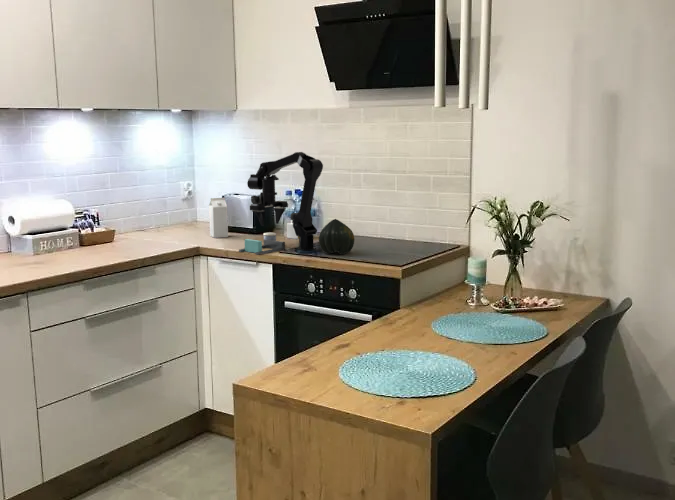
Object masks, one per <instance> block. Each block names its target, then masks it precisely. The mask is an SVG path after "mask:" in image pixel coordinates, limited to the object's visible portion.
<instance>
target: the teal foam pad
mask: <svg viewBox="0 0 675 500" xmlns="http://www.w3.org/2000/svg"><path fill="white" fill-rule="evenodd" d="M262 245H263V241H262V240H257V239H251V238H245V239H244V249H245V251H244V252H249V253H255V254H256V252H259V251H263V248H262Z"/></svg>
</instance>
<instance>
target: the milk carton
mask: <svg viewBox="0 0 675 500" xmlns="http://www.w3.org/2000/svg"><path fill="white" fill-rule="evenodd" d="M209 201H210V202H209V205H208V214H209V215H208V216H209V236H210V237H212V238H214V239H217V238H218V239H219V238H228V237H229V228H228V227H229V225H228V222H229V221H228V219H229V218H228V205H227V202H226V198H225V197H214V198H212V197H211V198H210V200H209Z"/></svg>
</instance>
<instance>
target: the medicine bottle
mask: <svg viewBox="0 0 675 500" xmlns="http://www.w3.org/2000/svg"><path fill="white" fill-rule="evenodd" d="M297 213H298V212H293V213H290V222H287V223H286V238H287V239H295V240H299V236H296V233H295V230H294V228H293V223H292V221H293V215H294V214H297Z"/></svg>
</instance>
